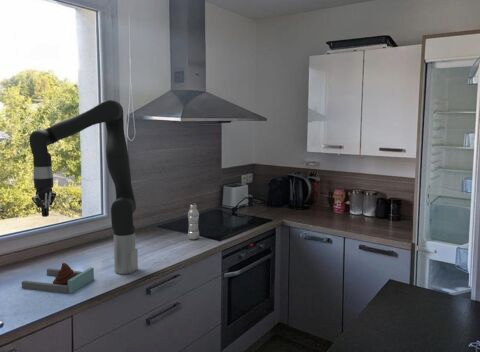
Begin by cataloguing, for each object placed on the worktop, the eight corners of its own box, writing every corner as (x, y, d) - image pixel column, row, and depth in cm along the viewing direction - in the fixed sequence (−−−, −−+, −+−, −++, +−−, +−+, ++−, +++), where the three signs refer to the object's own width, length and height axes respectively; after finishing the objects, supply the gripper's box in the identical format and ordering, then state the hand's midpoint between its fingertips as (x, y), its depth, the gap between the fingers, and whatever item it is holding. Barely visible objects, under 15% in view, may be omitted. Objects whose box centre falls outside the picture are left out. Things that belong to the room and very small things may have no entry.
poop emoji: (49, 289, 163) (48, 266, 162) (57, 281, 172) (55, 259, 170) (75, 288, 164) (74, 266, 163) (81, 280, 173) (80, 259, 171)
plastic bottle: (188, 241, 230) (188, 206, 228) (187, 237, 237) (186, 203, 234) (200, 240, 232) (200, 205, 229) (198, 237, 238) (197, 203, 236)
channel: (94, 278, 174) (94, 267, 174) (70, 293, 159) (70, 281, 158) (49, 273, 180) (48, 262, 179) (21, 287, 164) (21, 275, 164)
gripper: (39, 179, 169) (42, 220, 172) (61, 175, 182) (62, 213, 184) (24, 178, 171) (26, 219, 173) (46, 174, 184) (48, 212, 186)
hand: (45, 216), depth 179 cm, fingers closed
